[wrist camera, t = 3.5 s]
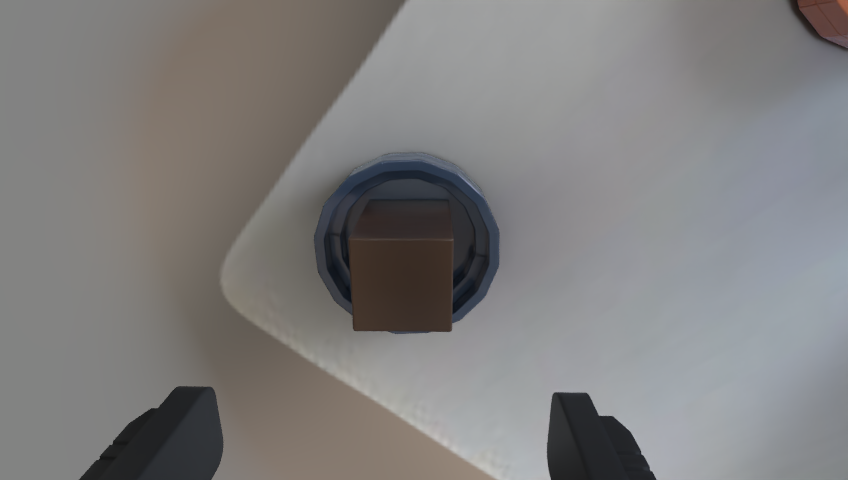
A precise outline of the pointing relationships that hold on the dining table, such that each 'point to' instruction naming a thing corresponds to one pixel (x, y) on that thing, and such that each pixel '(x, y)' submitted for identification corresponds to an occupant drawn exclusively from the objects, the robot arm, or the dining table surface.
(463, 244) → the slate dish
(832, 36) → the terracotta dish
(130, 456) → the robot arm
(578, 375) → the dining table surface
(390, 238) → the block
